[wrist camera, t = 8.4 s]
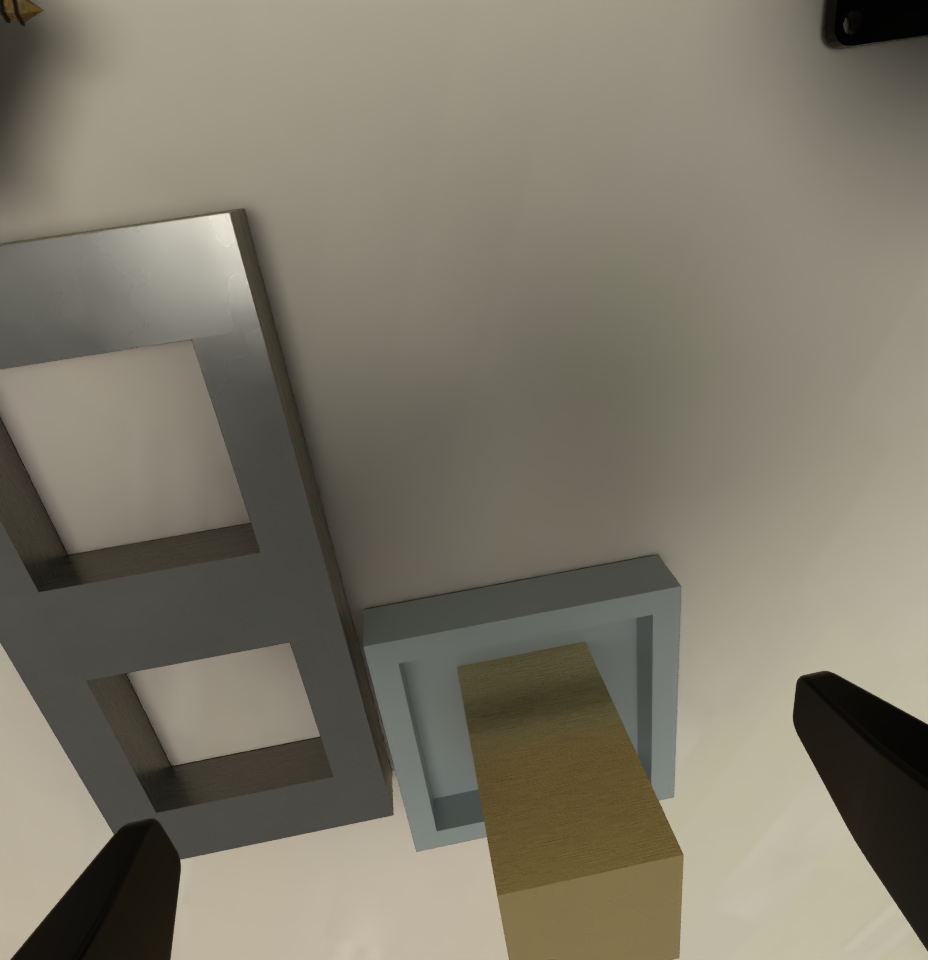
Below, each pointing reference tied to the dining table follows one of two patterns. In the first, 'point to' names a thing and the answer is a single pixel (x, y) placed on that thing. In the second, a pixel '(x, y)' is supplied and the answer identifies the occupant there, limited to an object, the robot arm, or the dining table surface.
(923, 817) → the robot arm
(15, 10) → the game die
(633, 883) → the tan rectangular block
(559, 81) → the dining table surface
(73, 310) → the grey flat frame
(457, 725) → the tray
